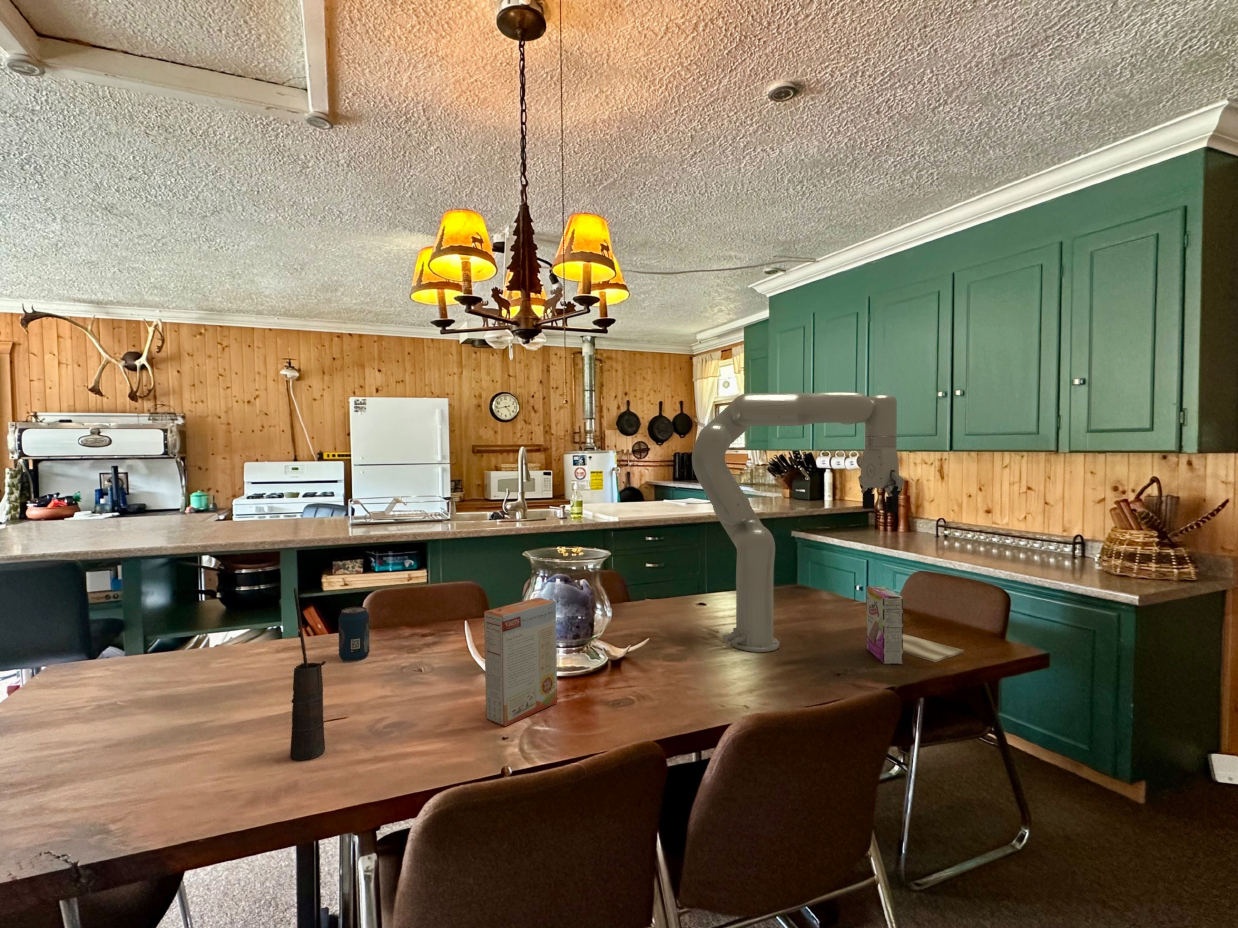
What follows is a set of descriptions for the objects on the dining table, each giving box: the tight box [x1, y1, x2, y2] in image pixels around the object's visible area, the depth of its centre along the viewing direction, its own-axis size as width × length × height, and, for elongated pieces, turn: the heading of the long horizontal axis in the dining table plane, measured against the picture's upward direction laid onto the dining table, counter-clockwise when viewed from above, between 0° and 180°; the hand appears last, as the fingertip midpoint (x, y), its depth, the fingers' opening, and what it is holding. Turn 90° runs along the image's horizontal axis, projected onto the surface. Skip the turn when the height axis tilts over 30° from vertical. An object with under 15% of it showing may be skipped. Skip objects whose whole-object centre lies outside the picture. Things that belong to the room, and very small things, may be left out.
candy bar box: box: [865, 585, 904, 665], centre depth 151 cm, size 11×5×16 cm, turn 179°
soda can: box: [338, 606, 371, 663], centre depth 151 cm, size 7×7×12 cm
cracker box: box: [483, 597, 558, 727], centre depth 120 cm, size 14×6×21 cm, turn 141°
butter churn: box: [289, 587, 327, 761], centre depth 103 cm, size 9×10×28 cm
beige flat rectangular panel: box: [903, 633, 965, 663], centre depth 159 cm, size 13×18×1 cm
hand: (879, 510), depth 157 cm, fingers open, 9 cm apart
